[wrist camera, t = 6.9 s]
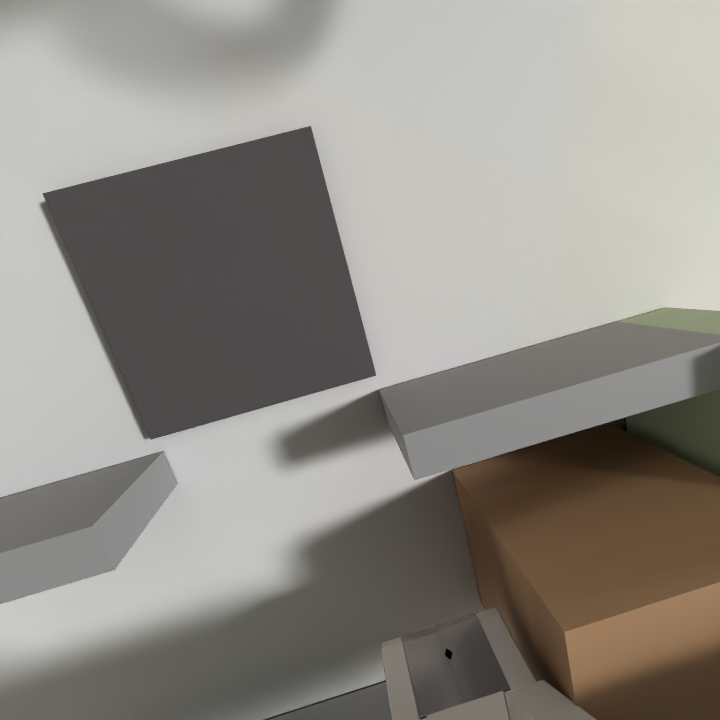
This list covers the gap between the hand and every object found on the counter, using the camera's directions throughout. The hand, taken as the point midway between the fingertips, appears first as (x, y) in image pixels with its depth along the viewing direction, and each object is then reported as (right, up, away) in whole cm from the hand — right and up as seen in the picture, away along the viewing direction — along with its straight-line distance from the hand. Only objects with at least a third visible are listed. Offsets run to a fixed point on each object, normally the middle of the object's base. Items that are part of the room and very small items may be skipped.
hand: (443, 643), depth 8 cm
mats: (-1, +1, +2) cm, 3 cm away
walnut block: (+4, +2, +3) cm, 5 cm away
